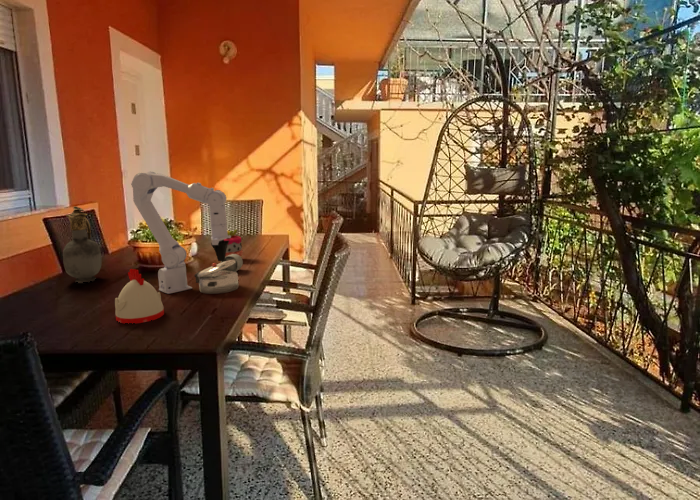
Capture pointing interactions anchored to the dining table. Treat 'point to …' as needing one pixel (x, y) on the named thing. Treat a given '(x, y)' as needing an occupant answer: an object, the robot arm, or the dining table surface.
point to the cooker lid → (215, 268)
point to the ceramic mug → (236, 265)
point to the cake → (234, 244)
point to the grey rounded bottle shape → (81, 250)
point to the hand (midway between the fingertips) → (221, 260)
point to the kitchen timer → (138, 301)
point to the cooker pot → (218, 282)
